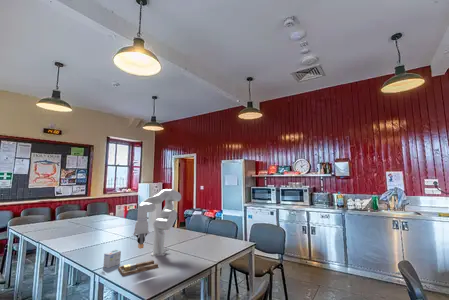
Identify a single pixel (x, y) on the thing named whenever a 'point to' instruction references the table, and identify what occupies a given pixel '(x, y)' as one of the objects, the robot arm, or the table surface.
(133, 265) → the dark gray cube
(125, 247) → the table surface
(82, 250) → the table surface
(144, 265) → the slot board
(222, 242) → the table surface
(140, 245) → the gray orange block
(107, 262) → the light bulb box
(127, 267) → the tan yellow cube
